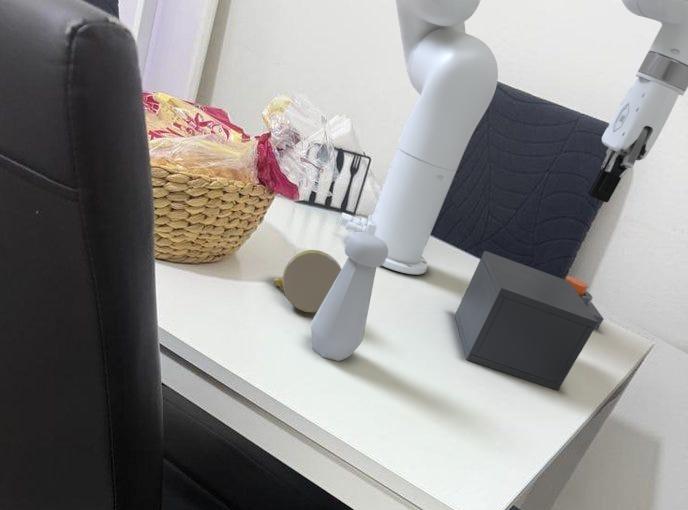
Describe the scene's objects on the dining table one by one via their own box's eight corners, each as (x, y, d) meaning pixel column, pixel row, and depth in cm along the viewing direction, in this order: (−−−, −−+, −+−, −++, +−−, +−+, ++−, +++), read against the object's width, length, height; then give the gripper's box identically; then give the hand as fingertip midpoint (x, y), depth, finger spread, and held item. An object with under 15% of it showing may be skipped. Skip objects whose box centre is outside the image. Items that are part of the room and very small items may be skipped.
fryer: (454, 315, 101) (484, 250, 96) (535, 343, 103) (569, 281, 97) (466, 359, 89) (501, 287, 83) (558, 390, 91) (598, 322, 85)
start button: (564, 291, 118) (569, 281, 117) (558, 283, 121) (564, 273, 120) (585, 299, 119) (591, 289, 118) (579, 290, 122) (585, 281, 121)
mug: (333, 295, 92) (369, 247, 84) (305, 346, 87) (340, 301, 79) (285, 262, 91) (317, 210, 82) (253, 312, 86) (284, 262, 77)
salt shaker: (316, 332, 80) (354, 221, 73) (361, 354, 80) (404, 243, 72) (296, 347, 76) (335, 229, 68) (344, 370, 75) (388, 254, 68)
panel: (537, 309, 118) (549, 287, 115) (527, 291, 125) (538, 269, 123) (597, 330, 119) (609, 309, 117) (583, 311, 126) (595, 290, 124)
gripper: (627, 61, 110) (566, 180, 120) (659, 69, 97) (588, 200, 107) (669, 80, 111) (605, 196, 121) (706, 90, 98) (631, 218, 108)
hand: (597, 198), depth 114 cm, fingers closed
